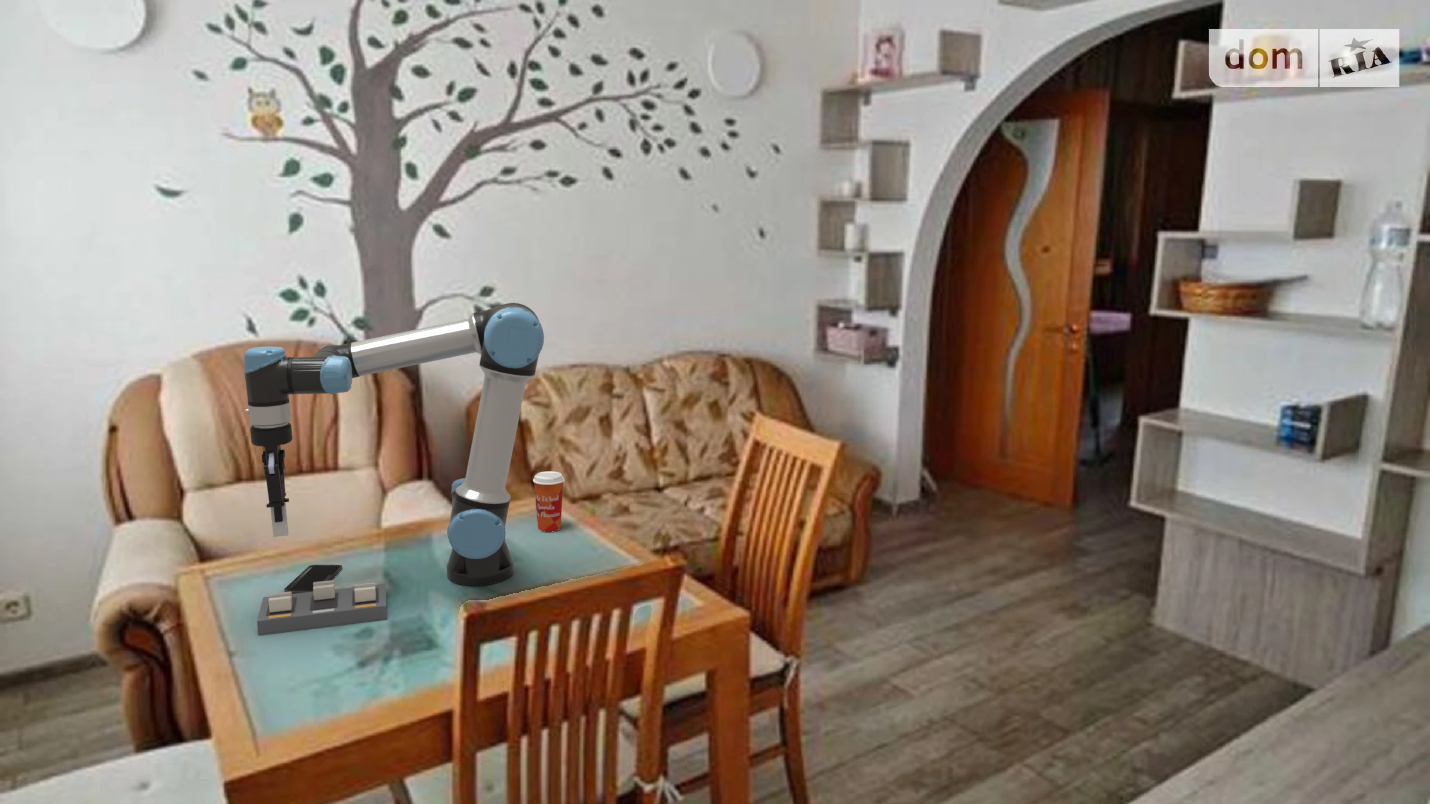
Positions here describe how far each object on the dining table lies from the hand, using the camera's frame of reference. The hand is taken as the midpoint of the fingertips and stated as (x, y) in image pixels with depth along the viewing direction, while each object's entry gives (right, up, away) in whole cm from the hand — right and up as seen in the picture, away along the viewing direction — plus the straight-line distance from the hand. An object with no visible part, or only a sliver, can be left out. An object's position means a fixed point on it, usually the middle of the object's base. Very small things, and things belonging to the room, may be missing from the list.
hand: (280, 534), depth 188 cm
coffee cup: (+45, -7, +56) cm, 72 cm away
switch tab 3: (+17, -14, +2) cm, 22 cm away
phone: (-1, -14, +19) cm, 23 cm away
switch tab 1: (+2, -14, -3) cm, 15 cm away
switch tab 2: (+8, -13, +3) cm, 16 cm away
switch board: (+9, -17, +2) cm, 19 cm away
